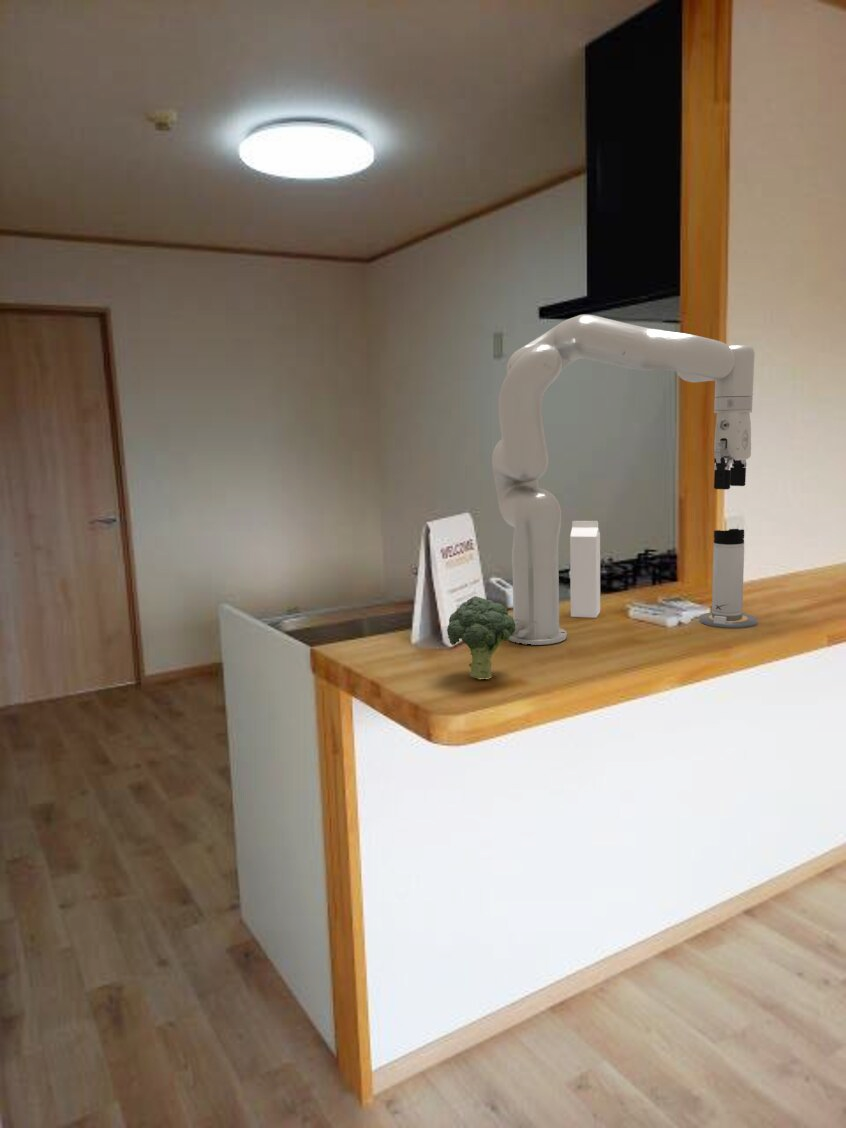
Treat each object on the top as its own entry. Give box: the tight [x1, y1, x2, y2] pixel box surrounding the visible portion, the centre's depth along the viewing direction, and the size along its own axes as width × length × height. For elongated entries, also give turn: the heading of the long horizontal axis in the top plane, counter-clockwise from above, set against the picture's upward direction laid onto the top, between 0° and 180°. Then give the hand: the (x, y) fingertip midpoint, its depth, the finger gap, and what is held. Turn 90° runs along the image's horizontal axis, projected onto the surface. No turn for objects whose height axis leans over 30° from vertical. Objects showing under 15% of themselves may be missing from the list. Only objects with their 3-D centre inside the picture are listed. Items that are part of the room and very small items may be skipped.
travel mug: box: [711, 528, 745, 621], centre depth 182 cm, size 6×7×20 cm
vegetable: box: [446, 595, 516, 679], centre depth 150 cm, size 12×13×15 cm
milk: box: [569, 520, 601, 619], centre depth 194 cm, size 6×6×22 cm
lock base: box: [699, 610, 759, 629], centre depth 184 cm, size 12×12×2 cm
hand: (729, 487), depth 179 cm, fingers open, 9 cm apart
